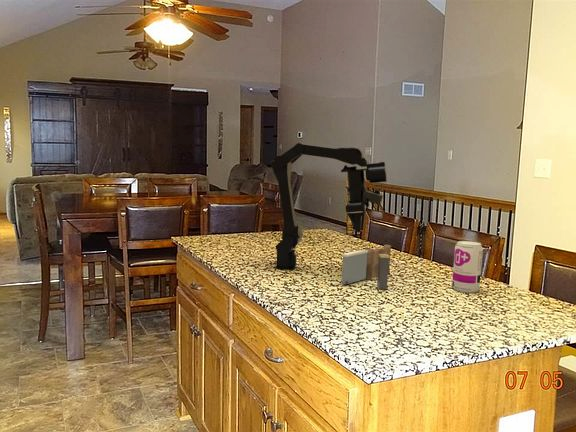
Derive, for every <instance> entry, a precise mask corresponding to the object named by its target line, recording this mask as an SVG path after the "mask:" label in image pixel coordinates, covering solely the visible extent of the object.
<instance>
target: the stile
mask: <svg viewBox="0 0 576 432" xmlns="http://www.w3.org/2000/svg"><path fill="white" fill-rule="evenodd" d="M378 256H379V264H378V277H377V283H376V288H377V289H378V290H388V279H389V278H388V277H389V274H388V265H389V258H390V259H391V255H390V256H389V255H388V254H378Z"/></svg>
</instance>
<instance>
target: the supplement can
mask: <svg viewBox="0 0 576 432" xmlns="http://www.w3.org/2000/svg"><path fill="white" fill-rule="evenodd" d="M483 253H484V248H483V246H482V243H481V242H478V241H470V240H458V241H457V243H456V244H455V246H454V255H453V258H454V259H453V268H452V270H453V271H452V282H451V286H452V288H453V290H455V291H456V292H461V293H469V294H470V293H471V294H472V293H473V294H475V293H477V292H478V291H479V290H480V288H481V287H480V285H481V278H482V277H481V276H482V275H481V274H482V267H483V266H482V264H483Z"/></svg>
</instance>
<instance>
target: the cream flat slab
mask: <svg viewBox="0 0 576 432" xmlns="http://www.w3.org/2000/svg"><path fill="white" fill-rule="evenodd" d="M367 253H368V250H364V249H360V250H355V251H350V252H345V253H342V255H341V257H342V265H341V281H340V283H341V285H342V286H347V285H349V284H352V283H355V282H359V281H363V280H365V279H366V267H367Z"/></svg>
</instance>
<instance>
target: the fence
mask: <svg viewBox="0 0 576 432" xmlns="http://www.w3.org/2000/svg"><path fill="white" fill-rule="evenodd" d="M391 249H392V245H390V244H383V248H379V249H378V250H375V249H374V248H367V247H365V248H364V249H363V250H368V253H367V267H366V279H364V280H365V281H370V280H372V279H375V278H378V264H379V256H378V254H388V255H389V256H390V258H389V265H388V275H389V274H390V265H391V264H390V263H391Z"/></svg>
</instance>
